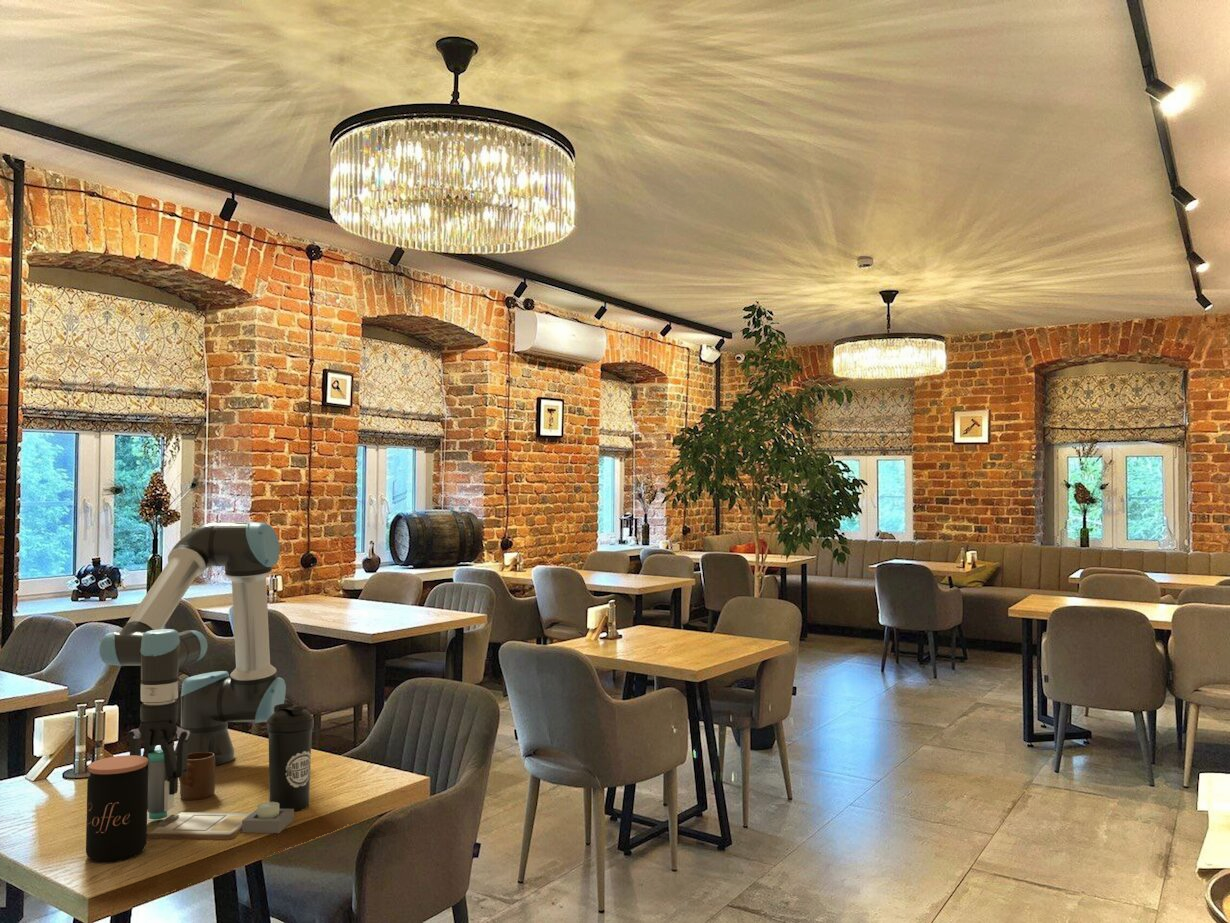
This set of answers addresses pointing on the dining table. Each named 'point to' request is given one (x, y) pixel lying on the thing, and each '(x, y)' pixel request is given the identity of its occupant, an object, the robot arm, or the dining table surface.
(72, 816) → the dining table surface
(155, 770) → the marker
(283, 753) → the water bottle
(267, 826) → the button housing
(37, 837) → the dining table surface
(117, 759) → the coffee jar
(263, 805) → the button
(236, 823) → the board
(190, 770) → the mug
